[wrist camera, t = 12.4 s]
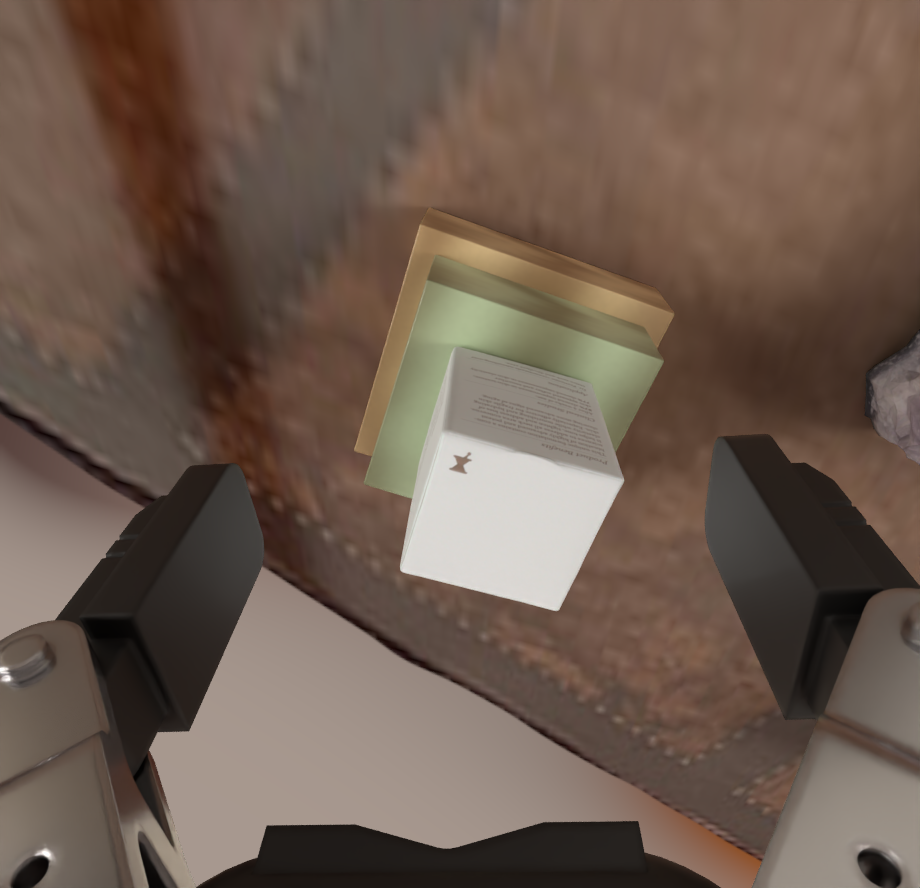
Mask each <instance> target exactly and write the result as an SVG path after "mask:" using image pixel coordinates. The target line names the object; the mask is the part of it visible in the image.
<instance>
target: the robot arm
mask: <svg viewBox="0 0 920 888" xmlns="http://www.w3.org/2000/svg"><path fill="white" fill-rule="evenodd" d="M851 503H852V502H851V501H850V500H849V498H848V497H847V496H846V495H845V493H844V492H843V491H842V490H841V489H840V487H839V486H838V485H837V484H836V482H835V481H834V480H832V479H831V478H829V477H828V476H826V475H824V474H823V473H821V472H819V471H818V470H816V469H815V468H813V467H811V466H810V465H808V464H807V463H791V462H790V461H789V460H788V458H787V457H786V456H785V454H784V453H783V452H782V450H781V449H780V448H779V446H778V445H777V444H776V442H775V441H774V440H773V438H772V437H771V436H770V435H768V434H758V435H741V436H723V437H719V438H717V440H716V442H715V444H714V449H713V455H712V463H711V471H710V479H709V486H708V494H707V502H706V510H705V532H706V538H707V543H708V547H709V550H710V552H711V555H712V557H713V559H714V561H715V564H716V566H717V568H718V570H719V573H720V575H721V577H722V579H723V582H724V584H725V586H726V588H727V590H728V593H729V595H730V597H731V599H732V602H733V604H734V606H735V608H736V611H737V613H738V615H739V617H740V620H741V622H742V624H743V626H744V629H745V631H746V633H747V635H748V638H749V640H750V642H751V644H752V646H753V649H754V651H755V653H756V655H757V658H758V660H759V662H760V664H761V667H762V669H763V671H764V673H765V676H766V678H767V680H768V682H769V685H770V687H771V689H772V691H773V693H774V696H775V698H776V700H777V702H778V705H779V707H780V709H781V711H782V714H783V716H784V718H785V720H795V719H816V720H817V723H816V726H815V728H814V731H813V733H812V736H811V738H810V741H809V743H808V746H807V748H806V751H805V753H804V756H803V759H802V761H801V764H800V766H799V769H798V771H797V774H796V776H795V779H794V781H793V784H792V786H791V789H790V792H789V794H788V797H787V799H786V802H785V804H784V807H783V809H782V812H781V814H780V817H779V820H778V822H777V825H776V827H775V830H774V832H773V835H772V837H771V840H770V842H769V845H768V848H767V850H766V853H765V855H764V858H763V860H762V863H761V865H760V868H759V871H758V873H757V875H756V878H755V881H754V883H753V886H752V888H920V586H919V584H918V583H917V582H916V581H915V580H914V578H913V577H912V576H911V575H910V573H909V572H908V571H907V570H906V568H905V567H904V566H903V565H902V564H901V562H900V561H899V560H898V559H897V557H896V556H895V555H894V554H893V553H892V551H891V550H890V549H889V548H888V546H887V545H886V544H885V543H884V541H883V540H882V539H881V538H880V537H879V535H878V534H877V533H876V532H875V530H874V529H873V528H872V527H871V525H867V524H866V519H865V518H864V517H863V516H862V514H861V513H860V512H859V511H858V509H857V508H856V507H852V505H851ZM263 557H264V541H263V535H262V531H261V528H260V525H259V522H258V519H257V515H256V512H255V509H254V506H253V503H252V499H251V496H250V493H249V490H248V487H247V483H246V480H245V477H244V474H243V472H242V470H241V468H240V467H239V466H238V465H237V464H234V463H230V464H213V465H195V466H190V467H189V468H188V469H187V470H186V471H185V472H184V474H183V475H182V476H181V478H180V479H179V480H178V482H177V483H176V485H175V486H174V487H173V489H172V490H171V491H170V493H169V494H168V495H167V496H161V497H159V498H158V499H157V500H155V501H154V502H152V503H151V504H150V505H148V506H147V507H146V508H144V509H143V510H142V511H140V512H139V513H138V514H136V515H135V517H134V518H133V519H132V520H131V522H130V523H129V524H128V526H127V527H126V528H125V530H124V531H123V532H122V534H121V535H120V540H117V541H115V543H114V544H113V545H112V547H111V548H110V549H109V551H108V552H107V553H106V558H104V559H101V561H100V562H99V563H98V565H97V566H96V567H95V569H94V570H93V571H92V573H91V574H90V575H89V576H88V578H87V579H86V580H85V582H84V583H83V584H82V586H81V587H80V588H79V589H78V591H77V592H76V593H75V595H74V596H73V597H72V599H71V600H70V601H69V602H68V604H67V605H66V606H65V608H64V609H63V610H62V612H61V613H60V614H59V615H58V617H57V618H56V620H54V621H47V622H41V623H38V624H35V625H31V626H29V627H26V628H23V629H21V630H19V631H17V632H15V633H13V634H11V635H9V636H7V637H6V638H4V639H2V640H1V641H0V888H720V887H719V886H717V885H716V884H715V883H713V882H712V881H710V880H708V879H707V878H705V877H703V876H701V875H699V874H697V873H695V872H693V871H692V870H690V869H688V868H686V867H684V866H681V865H679V864H677V863H674V862H672V861H669V860H667V859H664V858H662V857H658V856H655V855H651V854H648V853H644V849H643V843H642V838H641V833H640V827H639V823H638V821H623V822H543V823H540V824H537V825H533V826H530V827H526V828H523V829H519V830H516V831H512V832H509V833H505V834H502V835H499V836H495V837H492V838H488V839H485V840H481V841H477V842H474V843H471V844H467V845H464V846H460V847H456V848H452V849H442V848H437V847H433V846H429V845H426V844H423V843H419V842H415V841H412V840H408V839H405V838H401V837H398V836H394V835H390V834H387V833H383V832H380V831H376V830H372V829H369V828H365V827H361V826H358V825H276V826H275V825H274V826H267V827H266V830H265V834H264V837H263V841H262V844H261V847H260V851H259V855H258V858H255V859H252V860H249V861H246V862H244V863H242V864H239V865H237V866H234V867H232V868H230V869H227V870H225V871H223V872H221V873H220V874H218V875H216V876H214V877H212V878H210V879H209V880H207V881H205V882H203V883H202V884H200V885H199V886H198V887H196V886H195V883H194V881H193V879H192V876H191V874H190V872H189V869H188V866H187V863H186V861H185V858H184V855H183V851H182V848H181V845H180V842H179V838H178V835H177V832H176V829H175V825H174V822H173V819H172V816H171V813H170V809H169V806H168V804H167V800H166V796H165V793H164V790H163V787H162V784H161V781H160V777H159V775H158V771H157V767H156V765H155V761H154V759H153V757H152V755H151V753H150V751H149V748H150V746H151V744H152V742H153V740H154V738H155V736H156V734H157V732H175V731H176V732H177V731H178V732H179V731H189V730H190V728H191V725H192V723H193V721H194V719H195V717H196V714H197V712H198V710H199V708H200V705H201V703H202V701H203V699H204V696H205V694H206V692H207V690H208V687H209V685H210V682H211V681H212V678H213V676H214V674H215V671H216V669H217V667H218V665H219V662H220V660H221V658H222V656H223V653H224V651H225V649H226V647H227V644H228V642H229V640H230V637H231V635H232V633H233V631H234V629H235V626H236V624H237V621H238V620H239V617H240V615H241V613H242V610H243V608H244V606H245V604H246V602H247V599H248V597H249V595H250V593H251V590H252V588H253V586H254V584H255V581H256V579H257V577H258V574H259V572H260V570H261V567H262V563H263Z"/></svg>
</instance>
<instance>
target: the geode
mask: <svg viewBox="0 0 920 888" xmlns="http://www.w3.org/2000/svg"><path fill="white" fill-rule="evenodd" d="M865 416H867V417H869V418H870V419H871V421H872V424H873V427H874V429H875V431H876V432H877V434H878V435H879V436H881V437H883V438H885V439H887V440H888V441H889V442H892V443H894V444H896V445H898V446H899V447H900V448H901V449H903V450H904V452H905V453H906V456H907V458H909V459H911V460H913V461H915V462H916V463H917V464H919V465H920V330H919V331H918V332H917V333H916V334H915V336H914V337H913V338H912V339H911V341H910V342H909V343H908V344H907V346H906V347H904V348H902V349H901V350H899V351H898V352H896V353H895V354H893V355H892V356H890V357H888V358H887V359H885V360H883V361H882V362H880V363H879V364H877V365H875V366H874V367H873V368H872V369H871V370H870V371H868V372H867V373H866V402H865Z"/></svg>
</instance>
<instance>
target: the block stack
mask: <svg viewBox="0 0 920 888" xmlns="http://www.w3.org/2000/svg"><path fill="white" fill-rule="evenodd" d="M674 315H675V313H674V312H673V311H672V309H671V308H670V307H669V305H668V304H667V302H666V301H665V300H664V298H663V297H662V296H661V294H660V293H659V292H658V290H657V289H656V288H654V287H651V286H648V285H646V284H643V283H640V282H637V281H634V280H632V279H629V278H626V277H623V276H620V275H618V274H615V273H612V272H609V271H606V270H604V269H601V268H598V267H595V266H592V265H589V264H587V263H584V262H581V261H578V260H575V259H573V258H570V257H567V256H564V255H561V254H559V253H556V252H553V251H550V250H547V249H545V248H542V247H539V246H536V245H533V244H531V243H528V242H525V241H522V240H519V239H517V238H514V237H511V236H508V235H505V234H502V233H500V232H497V231H494V230H491V229H488V228H486V227H483V226H480V225H477V224H474V223H472V222H469V221H466V220H463V219H460V218H458V217H455V216H452V215H449V214H446V213H444V212H441V211H438V210H435V209H432V208H428V210H427V212H426V213H425V215H424V217H423V219H422V221H421V223H420V225H419V229H418V232H417V236H416V239H415V242H414V246H413V249H412V253H411V256H410V260H409V263H408V267H407V270H406V273H405V277H404V280H403V284H402V287H401V291H400V294H399V297H398V301H397V304H396V308H395V311H394V315H393V318H392V322H391V325H390V328H389V332H388V335H387V339H386V342H385V346H384V349H383V353H382V356H381V359H380V363H379V366H378V370H377V373H376V377H375V380H374V384H373V387H372V390H371V394H370V397H369V401H368V404H367V408H366V411H365V415H364V418H363V421H362V425H361V428H360V432H359V435H358V439H357V442H356V445H355V449H354V450H355V451H356V452H359V453H362V454H365V455H369V456H372V458H371V461H370V464H369V467H368V471H367V474H366V477H365V480H364V484H365V485H368V486H371V487H375V488H378V489H381V490H385V491H388V492H391V493H395V494H398V495H401V496H405V497H408V498H411V499H412V498H413V493H414V488H415V483H416V478H417V472H418V465H419V461H420V458H421V454H422V450H423V447H424V443H425V440H426V436H427V433H428V429H429V425H430V422H431V418H432V415H433V412H434V408H435V405H436V402H437V399H438V395H439V392H440V389H441V386H442V383H443V379H444V376H445V373H446V370H447V366H448V363H449V360H450V356H451V353H452V351H453V349H454V348H455V347H457V346H458V347H462V348H466V349H469V350H473V351H477V352H481V353H485V354H488V355H492V356H496V357H499V358H503V359H507V360H510V361H514V362H518V363H521V364H525V365H528V366H532V367H536V368H539V369H542V370H546V371H550V372H553V373H557V374H560V375H564V376H567V377H571V378H574V379H578V380H581V381H585V382H588V383H591V384H592V385H593V389H594V392H595V395H596V397H597V400H598V403H599V407H600V409H601V412H602V415H603V418H604V421H605V424H606V427H607V430H608V433H609V436H610V439H611V442H612V445H613V448H614V451H615V452H616V450H617V449H618V447H619V445H620V443H621V441H622V439H623V437H624V436H625V434H626V432H627V430H628V428H629V426H630V424H631V422H632V421H633V419H634V417H635V415H636V413H637V411H638V409H639V407H640V406H641V404H642V402H643V400H644V398H645V396H646V394H647V392H648V391H649V389H650V387H651V385H652V383H653V381H654V379H655V377H656V376H657V374H658V372H659V370H660V368H661V366H662V364H663V362H664V360H663V358H662V356H661V355H660V353H659V351H658V350H657V348H658V346H659V344H660V342H661V340H662V338H663V336H664V334H665V332H666V330H667V329H668V327H669V325H670V323H671V321H672V319H673V317H674Z"/></svg>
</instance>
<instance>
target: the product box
mask: <svg viewBox="0 0 920 888" xmlns="http://www.w3.org/2000/svg"><path fill="white" fill-rule="evenodd" d="M623 483H624V478H623V475H622V472H621V469H620V466H619V463H618V460H617V457H616V454H615V451H614V448H613V445H612V442H611V439H610V436H609V433H608V430H607V427H606V424H605V421H604V418H603V415H602V412H601V409H600V407H599V403H598V400H597V397H596V395H595V392H594V389H593V385H592V384H591V383H588V382H585V381H581V380H578V379H574V378H571V377H567V376H564V375H560V374H557V373H553V372H550V371H546V370H542V369H539V368H536V367H532V366H528V365H525V364H521V363H518V362H514V361H510V360H507V359H503V358H499V357H496V356H492V355H488V354H485V353H481V352H477V351H473V350H469V349H466V348H462V347H458V346H457V347H455V348H454V349H453V351H452V353H451V356H450V360H449V363H448V366H447V370H446V373H445V376H444V379H443V383H442V386H441V389H440V392H439V395H438V399H437V402H436V405H435V408H434V412H433V415H432V418H431V422H430V425H429V429H428V433H427V436H426V440H425V443H424V447H423V450H422V454H421V458H420V461H419V465H418V472H417V478H416V483H415V488H414V493H413V498H412V503H411V508H410V514H409V519H408V525H407V530H406V536H405V542H404V547H403V553H402V558H401V564H400V569H401V571H402V572H404V573H407V574H411V575H416V576H420V577H424V578H428V579H432V580H436V581H440V582H444V583H448V584H452V585H456V586H460V587H464V588H468V589H472V590H476V591H480V592H484V593H488V594H492V595H496V596H500V597H504V598H508V599H512V600H516V601H520V602H523V603H527V604H531V605H535V606H538V607H542V608H546V609H549V610H553V611H558V610H559V609H560V607H561V604H562V603H563V601H564V599H565V597H566V595H567V593H568V591H569V589H570V587H571V585H572V583H573V581H574V579H575V577H576V575H577V573H578V571H579V569H580V567H581V565H582V563H583V560H584V558H585V556H586V554H587V552H588V550H589V548H590V546H591V544H592V542H593V540H594V538H595V536H596V534H597V532H598V530H599V528H600V526H601V524H602V522H603V520H604V518H605V516H606V514H607V513H608V511H609V509H610V507H611V505H612V503H613V501H614V499H615V497H616V495H617V493H618V492H619V490H620V488H621V486H622V485H623Z"/></svg>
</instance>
